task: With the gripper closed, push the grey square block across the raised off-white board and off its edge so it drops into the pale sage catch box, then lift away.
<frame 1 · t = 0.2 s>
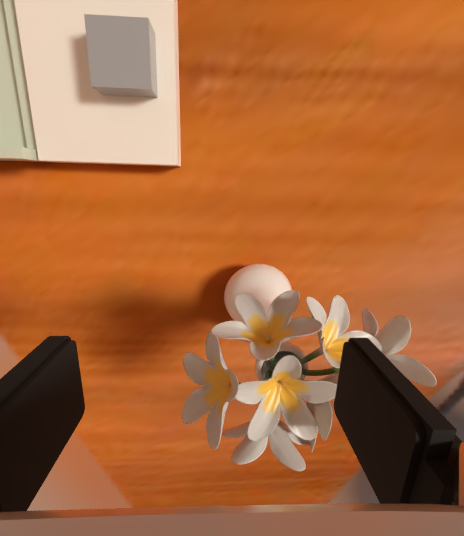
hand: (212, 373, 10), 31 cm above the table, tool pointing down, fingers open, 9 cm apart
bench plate: (110, 74, 33), on the table
flower vase: (258, 284, 42), on the table
grey square block: (128, 65, 31), point 3 cm above the table, touching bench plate
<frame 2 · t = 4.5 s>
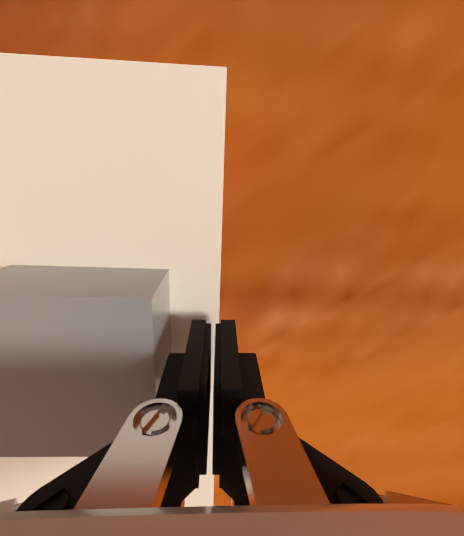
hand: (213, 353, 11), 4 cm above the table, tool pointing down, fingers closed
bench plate: (63, 304, 15), on the table
grey square block: (98, 335, 12), point 3 cm above the table, touching gripper
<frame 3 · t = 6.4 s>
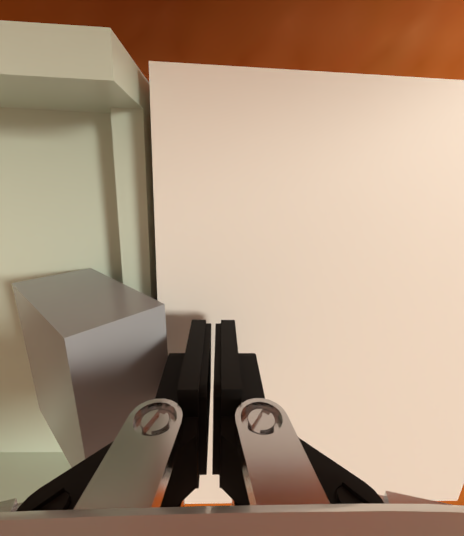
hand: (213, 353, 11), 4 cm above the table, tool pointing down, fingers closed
catch box: (3, 301, 15), on the table
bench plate: (319, 308, 15), on the table
grey square block: (128, 349, 12), point 3 cm above the table, tilted 45°, touching catch box, gripper
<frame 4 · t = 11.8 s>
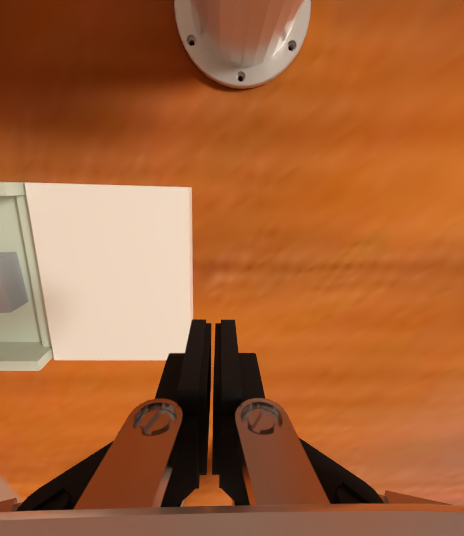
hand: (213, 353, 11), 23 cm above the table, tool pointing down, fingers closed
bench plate: (125, 272, 34), on the table
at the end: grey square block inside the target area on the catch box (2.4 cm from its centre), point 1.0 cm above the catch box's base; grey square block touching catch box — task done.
